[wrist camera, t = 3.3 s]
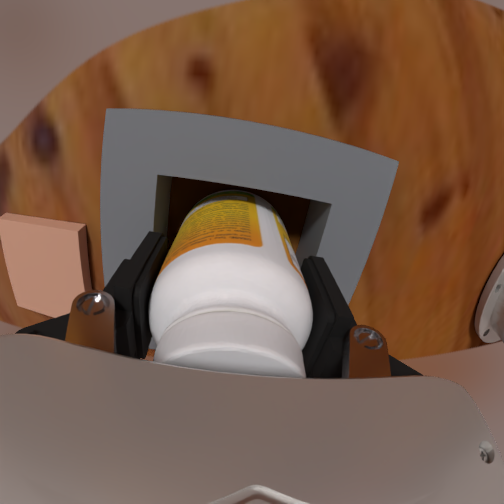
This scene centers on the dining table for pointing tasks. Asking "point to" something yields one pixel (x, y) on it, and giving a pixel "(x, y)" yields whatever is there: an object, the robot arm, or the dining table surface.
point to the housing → (240, 182)
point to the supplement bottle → (232, 292)
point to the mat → (45, 262)
